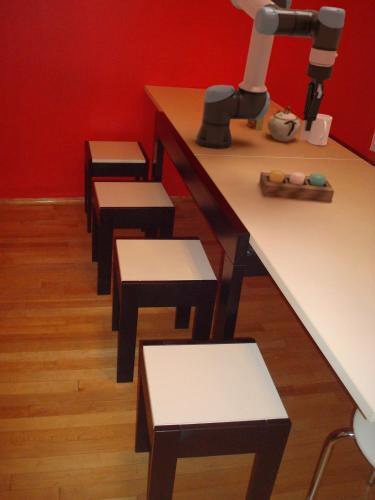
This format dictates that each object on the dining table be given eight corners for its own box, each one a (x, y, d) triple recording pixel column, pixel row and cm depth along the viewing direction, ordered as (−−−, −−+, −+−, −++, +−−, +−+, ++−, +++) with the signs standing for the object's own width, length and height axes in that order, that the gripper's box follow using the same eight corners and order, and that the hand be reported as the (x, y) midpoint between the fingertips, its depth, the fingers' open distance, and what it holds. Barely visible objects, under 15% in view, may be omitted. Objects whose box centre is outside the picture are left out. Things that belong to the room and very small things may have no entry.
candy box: (245, 124, 242) (250, 92, 235) (253, 124, 244) (258, 92, 237) (254, 130, 235) (260, 97, 228) (262, 130, 237) (268, 97, 230)
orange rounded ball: (268, 188, 168) (271, 174, 165) (266, 183, 172) (269, 169, 170) (282, 189, 168) (285, 175, 166) (280, 184, 172) (283, 170, 170)
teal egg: (309, 192, 168) (312, 178, 166) (306, 186, 173) (309, 173, 170) (323, 193, 169) (327, 179, 166) (320, 187, 173) (323, 174, 170)
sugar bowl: (305, 146, 220) (312, 112, 213) (273, 145, 217) (280, 110, 210) (289, 132, 237) (295, 100, 230) (259, 131, 234) (264, 99, 226)
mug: (329, 148, 220) (335, 121, 214) (310, 146, 220) (316, 119, 214) (324, 140, 230) (330, 115, 224) (306, 138, 230) (312, 113, 224)
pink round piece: (289, 190, 168) (292, 176, 166) (286, 185, 172) (289, 171, 170) (303, 191, 168) (306, 177, 166) (300, 186, 172) (303, 172, 170)
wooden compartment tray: (263, 196, 165) (265, 185, 163) (259, 182, 176) (260, 172, 174) (331, 201, 166) (334, 190, 164) (323, 188, 177) (325, 177, 175)
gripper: (338, 69, 145) (320, 147, 157) (328, 61, 156) (311, 134, 168) (313, 67, 145) (296, 145, 157) (304, 58, 156) (289, 132, 168)
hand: (304, 139), depth 162 cm, fingers closed
